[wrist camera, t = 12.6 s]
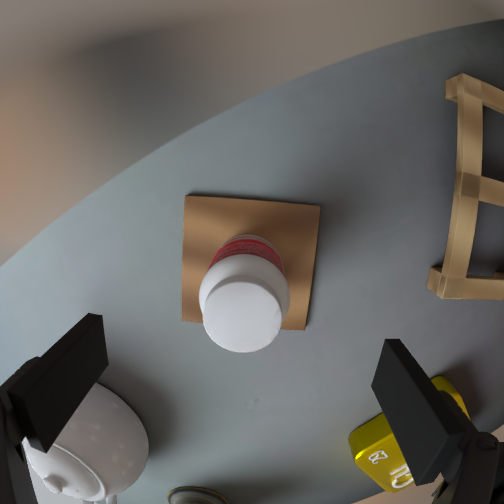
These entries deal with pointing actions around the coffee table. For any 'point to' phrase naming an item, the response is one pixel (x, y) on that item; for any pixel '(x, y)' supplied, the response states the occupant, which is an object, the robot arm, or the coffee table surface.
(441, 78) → the coffee table surface
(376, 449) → the element tile
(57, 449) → the teapot
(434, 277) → the bottle rack
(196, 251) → the brown flat square
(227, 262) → the pill bottle
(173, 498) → the apothecary jar
